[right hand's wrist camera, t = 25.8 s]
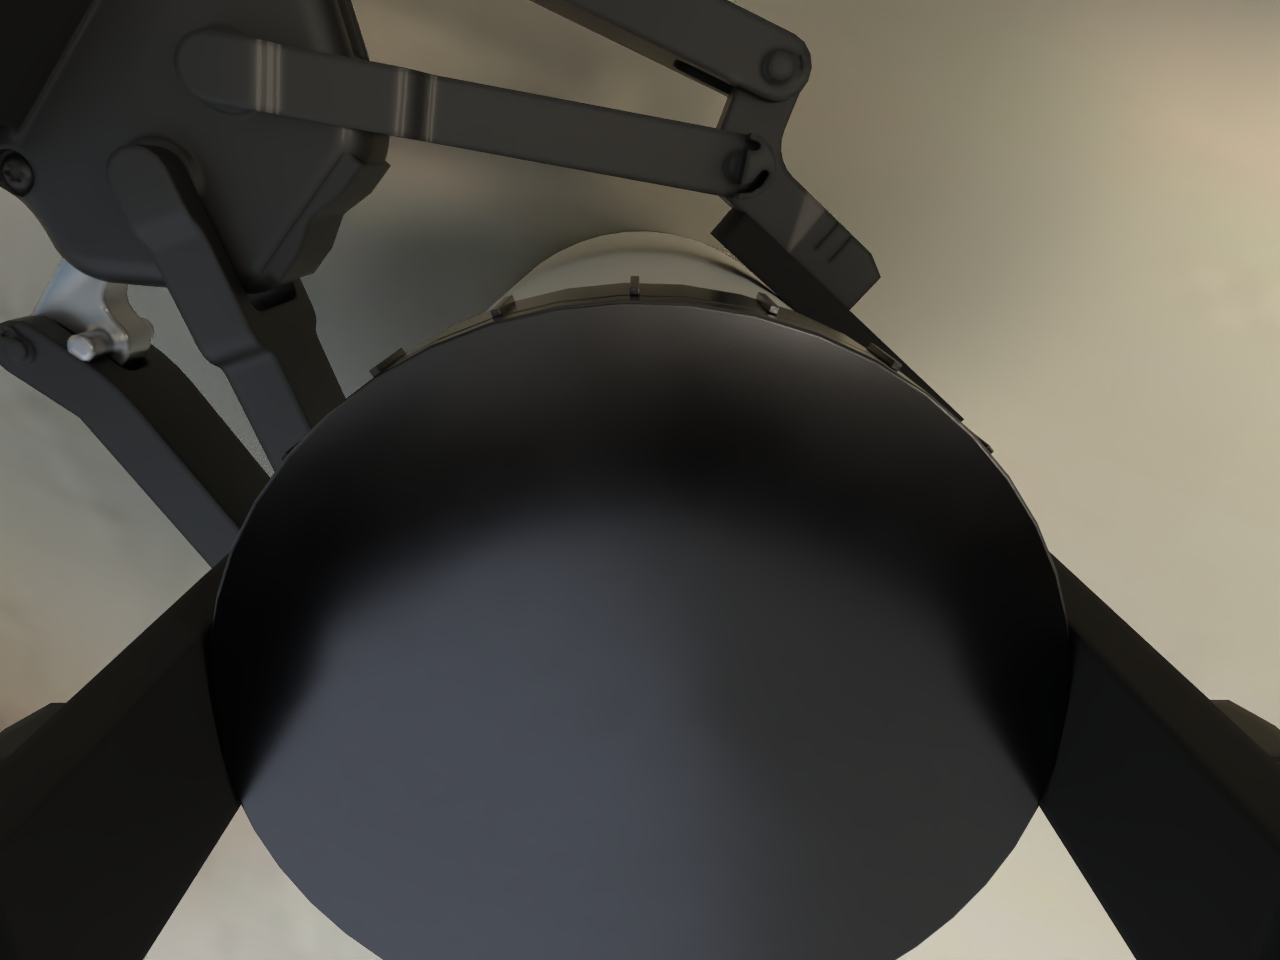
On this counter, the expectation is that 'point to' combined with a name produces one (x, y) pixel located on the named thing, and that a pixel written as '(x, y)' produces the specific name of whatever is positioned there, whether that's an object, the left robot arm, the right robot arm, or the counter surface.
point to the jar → (640, 266)
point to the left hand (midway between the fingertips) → (766, 575)
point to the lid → (639, 643)
